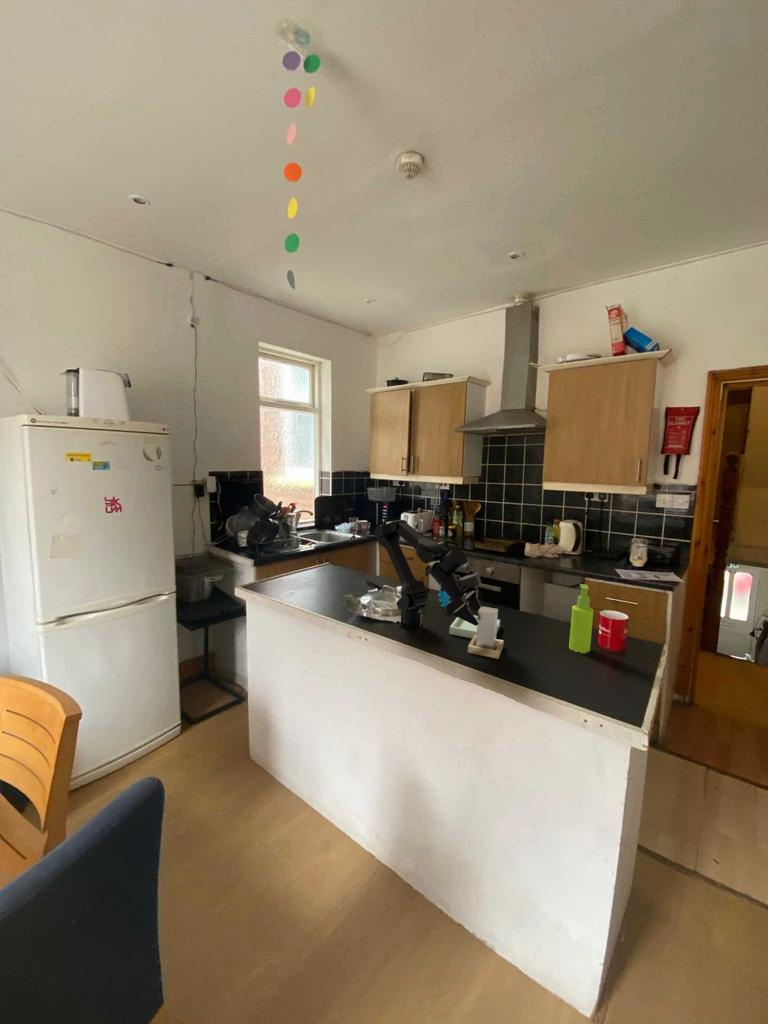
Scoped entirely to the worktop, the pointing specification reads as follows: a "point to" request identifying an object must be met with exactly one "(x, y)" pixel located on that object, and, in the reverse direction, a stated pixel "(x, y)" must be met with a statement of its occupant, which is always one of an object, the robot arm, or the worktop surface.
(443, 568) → the robot arm
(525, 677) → the worktop surface
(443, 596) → the gear
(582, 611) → the soap dispenser
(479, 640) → the stop block
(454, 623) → the tray
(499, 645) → the wooden collar
